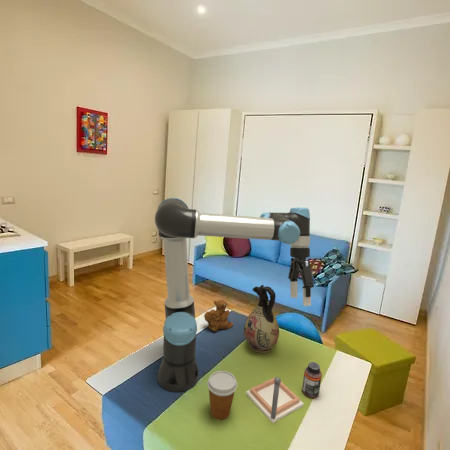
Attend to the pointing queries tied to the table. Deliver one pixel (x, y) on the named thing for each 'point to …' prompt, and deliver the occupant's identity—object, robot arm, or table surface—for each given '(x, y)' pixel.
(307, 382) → the supplement bottle
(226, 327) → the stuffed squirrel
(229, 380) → the disposable coffee cup
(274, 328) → the ceramic jug
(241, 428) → the table surface
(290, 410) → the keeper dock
